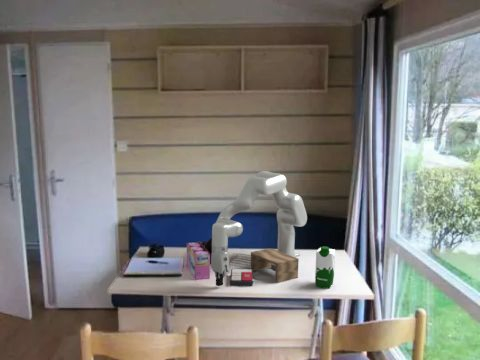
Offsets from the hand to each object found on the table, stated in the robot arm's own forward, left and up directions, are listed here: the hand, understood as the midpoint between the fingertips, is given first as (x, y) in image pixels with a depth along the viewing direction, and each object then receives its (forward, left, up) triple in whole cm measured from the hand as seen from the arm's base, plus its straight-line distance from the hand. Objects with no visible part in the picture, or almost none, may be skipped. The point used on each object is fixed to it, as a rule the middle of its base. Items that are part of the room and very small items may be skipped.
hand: (219, 285), depth 225 cm
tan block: (-34, 0, -1) cm, 34 cm away
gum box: (-2, -25, -2) cm, 25 cm away
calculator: (-15, -2, -2) cm, 15 cm away
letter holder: (-19, -41, -2) cm, 45 cm away
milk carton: (-45, +26, -2) cm, 52 cm away
